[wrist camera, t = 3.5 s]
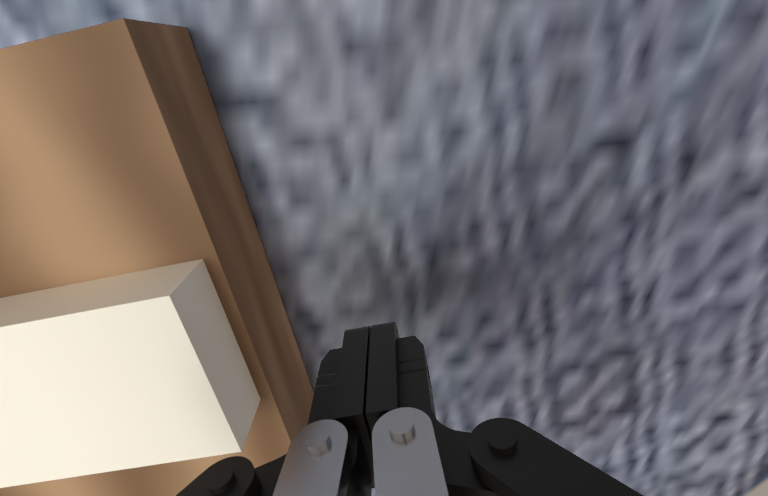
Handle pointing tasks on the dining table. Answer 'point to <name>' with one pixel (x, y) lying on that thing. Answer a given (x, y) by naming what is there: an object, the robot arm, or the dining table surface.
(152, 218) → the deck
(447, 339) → the dining table surface
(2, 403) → the block
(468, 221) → the dining table surface
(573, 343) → the dining table surface
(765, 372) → the dining table surface
